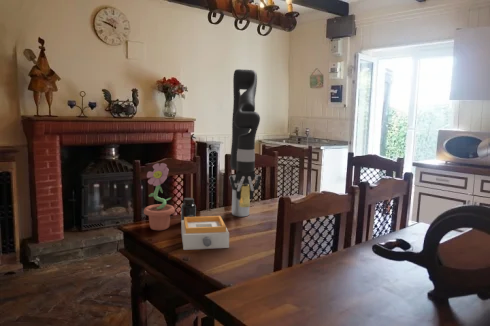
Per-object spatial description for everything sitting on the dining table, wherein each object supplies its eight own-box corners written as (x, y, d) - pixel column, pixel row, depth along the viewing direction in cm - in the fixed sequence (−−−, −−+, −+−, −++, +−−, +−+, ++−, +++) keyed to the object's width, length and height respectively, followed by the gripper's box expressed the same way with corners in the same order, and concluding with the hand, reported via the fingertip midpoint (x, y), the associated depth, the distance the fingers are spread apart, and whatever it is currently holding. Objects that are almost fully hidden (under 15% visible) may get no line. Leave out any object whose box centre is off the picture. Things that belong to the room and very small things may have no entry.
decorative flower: (135, 229, 172) (134, 163, 167) (156, 221, 184) (155, 160, 179) (161, 234, 165) (161, 166, 160) (180, 226, 177) (181, 163, 173)
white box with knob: (181, 233, 168) (181, 215, 166) (221, 231, 171) (222, 214, 170) (183, 252, 145) (184, 232, 144) (230, 250, 149) (230, 230, 148)
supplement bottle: (189, 226, 178) (189, 201, 177) (178, 223, 182) (178, 199, 180) (198, 222, 184) (198, 198, 182) (187, 220, 188) (187, 196, 186)
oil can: (238, 204, 163) (238, 180, 161) (248, 204, 164) (249, 180, 162) (240, 207, 159) (240, 182, 157) (250, 207, 160) (251, 182, 158)
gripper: (260, 158, 163) (258, 196, 166) (227, 158, 160) (226, 197, 163) (264, 161, 156) (263, 201, 159) (230, 161, 153) (229, 202, 156)
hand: (244, 199), depth 161 cm, fingers closed on oil can, 4 cm apart
